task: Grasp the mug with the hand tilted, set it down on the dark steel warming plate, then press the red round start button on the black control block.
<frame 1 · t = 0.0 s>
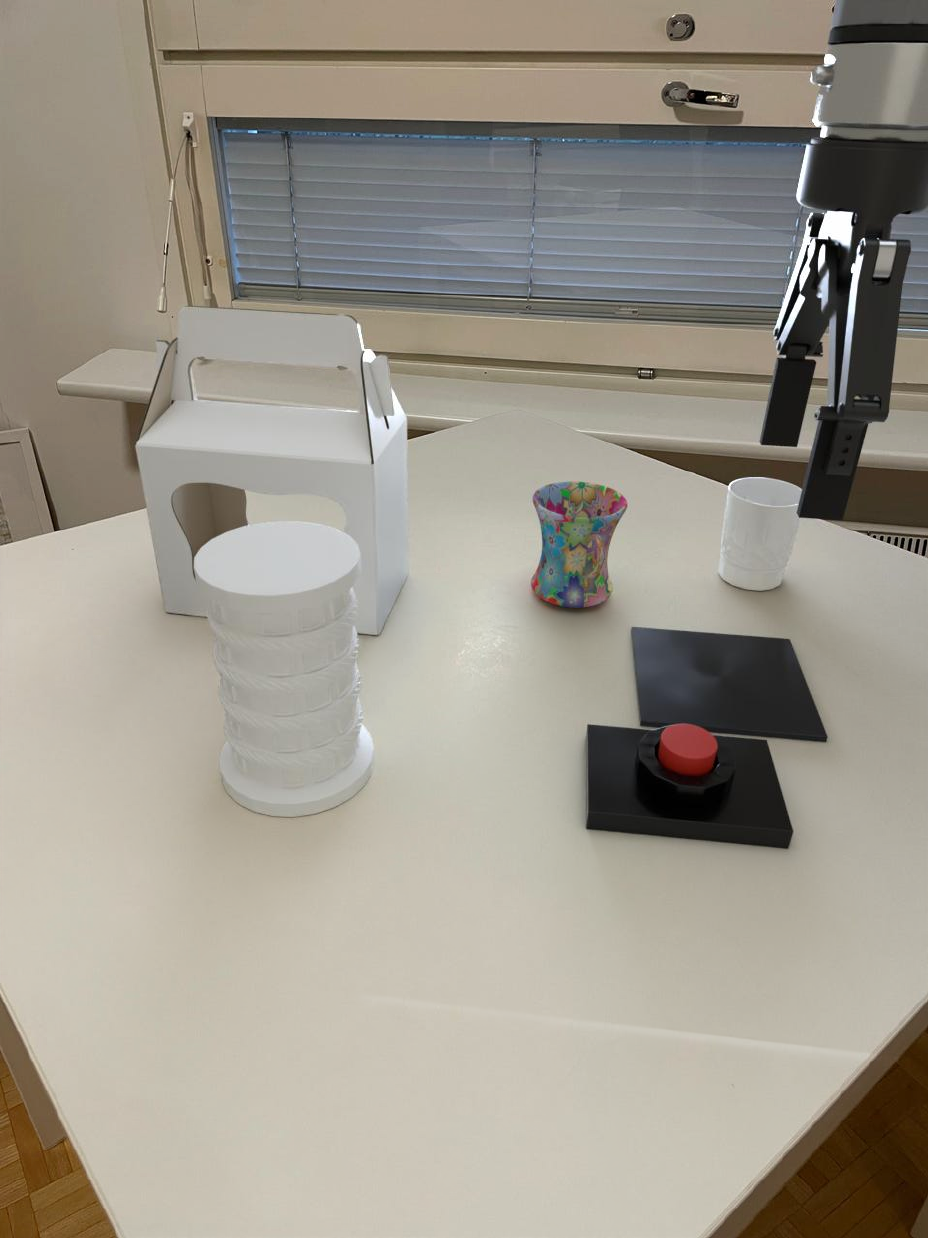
hand: (796, 477, 62), 22 cm above the table, tool pointing down, fingers open, 13 cm apart
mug: (574, 601, 90), on the table
warming plate: (719, 682, 78), on the table
start button: (687, 750, 63), point 4 cm above the table, slide at 0.1 cm
white cup: (749, 578, 95), on the table
gable box: (292, 594, 90), on the table
control block: (679, 790, 65), on the table
decorative container: (298, 766, 67), on the table
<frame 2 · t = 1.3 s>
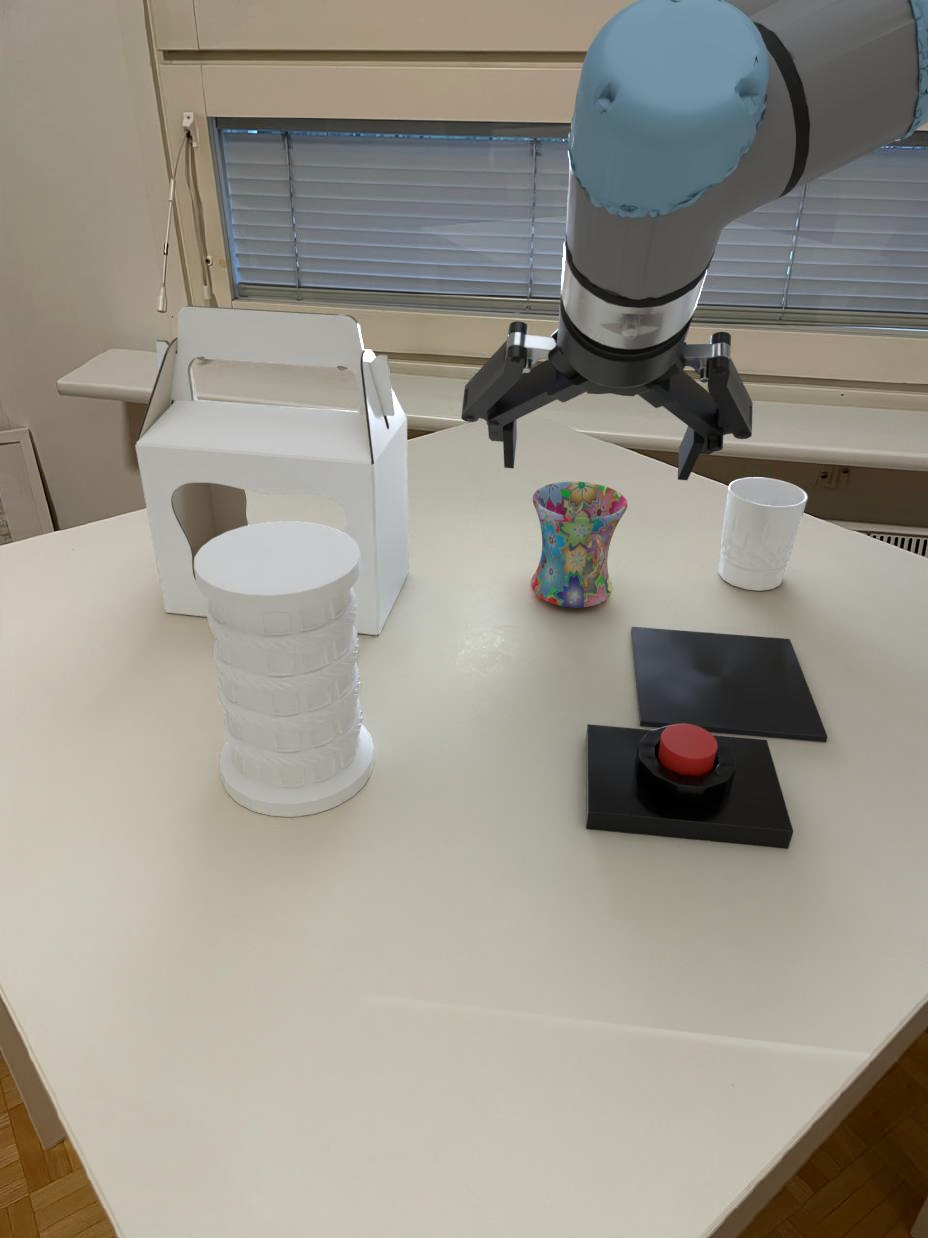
hand: (596, 458, 69), 20 cm above the table, tool tilted 45°, fingers open, 13 cm apart
nothing on the table moved.
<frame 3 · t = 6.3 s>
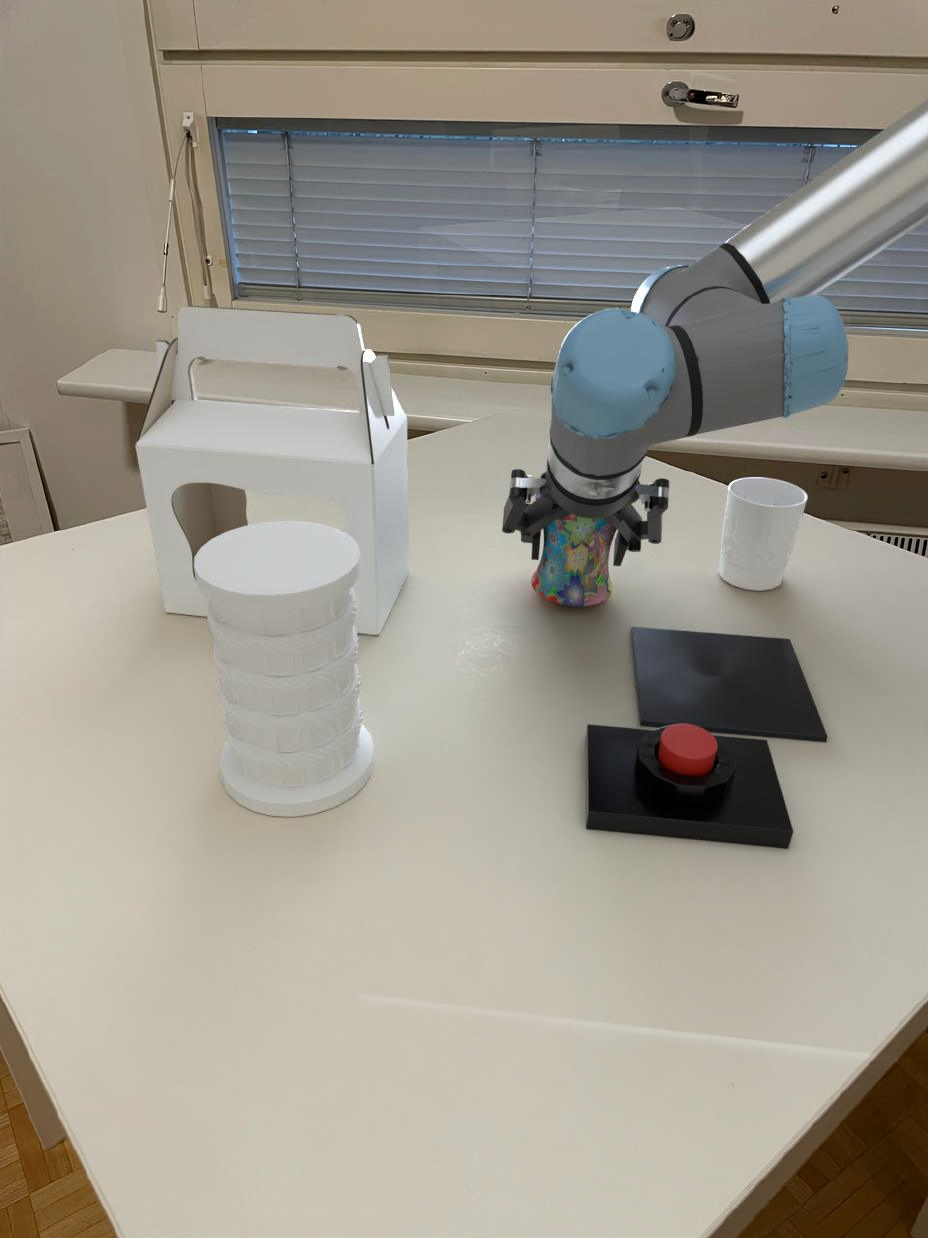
hand: (576, 550, 91), 4 cm above the table, tool tilted 45°, fingers closed on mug, 8 cm apart
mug: (574, 600, 90), on the table, touching gripper
everything else where it was.
when the fingers open (4 cm above the table, at t = 14.0 s): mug stays where it is, resting on warming plate.
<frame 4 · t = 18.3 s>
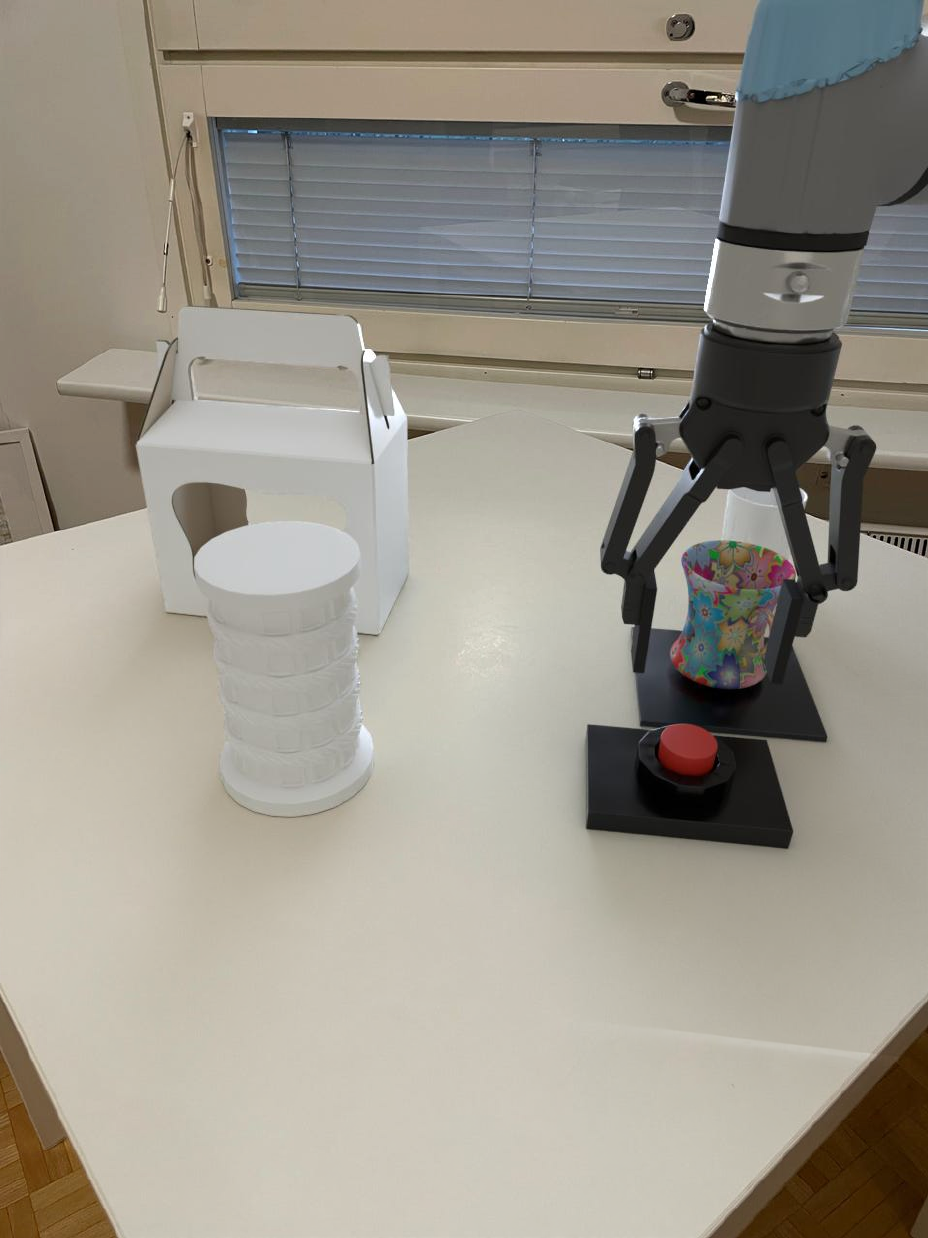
hand: (704, 667, 60), 11 cm above the table, tool pointing down, fingers open, 8 cm apart
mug: (722, 679, 77), resting on warming plate
everything else where it was.
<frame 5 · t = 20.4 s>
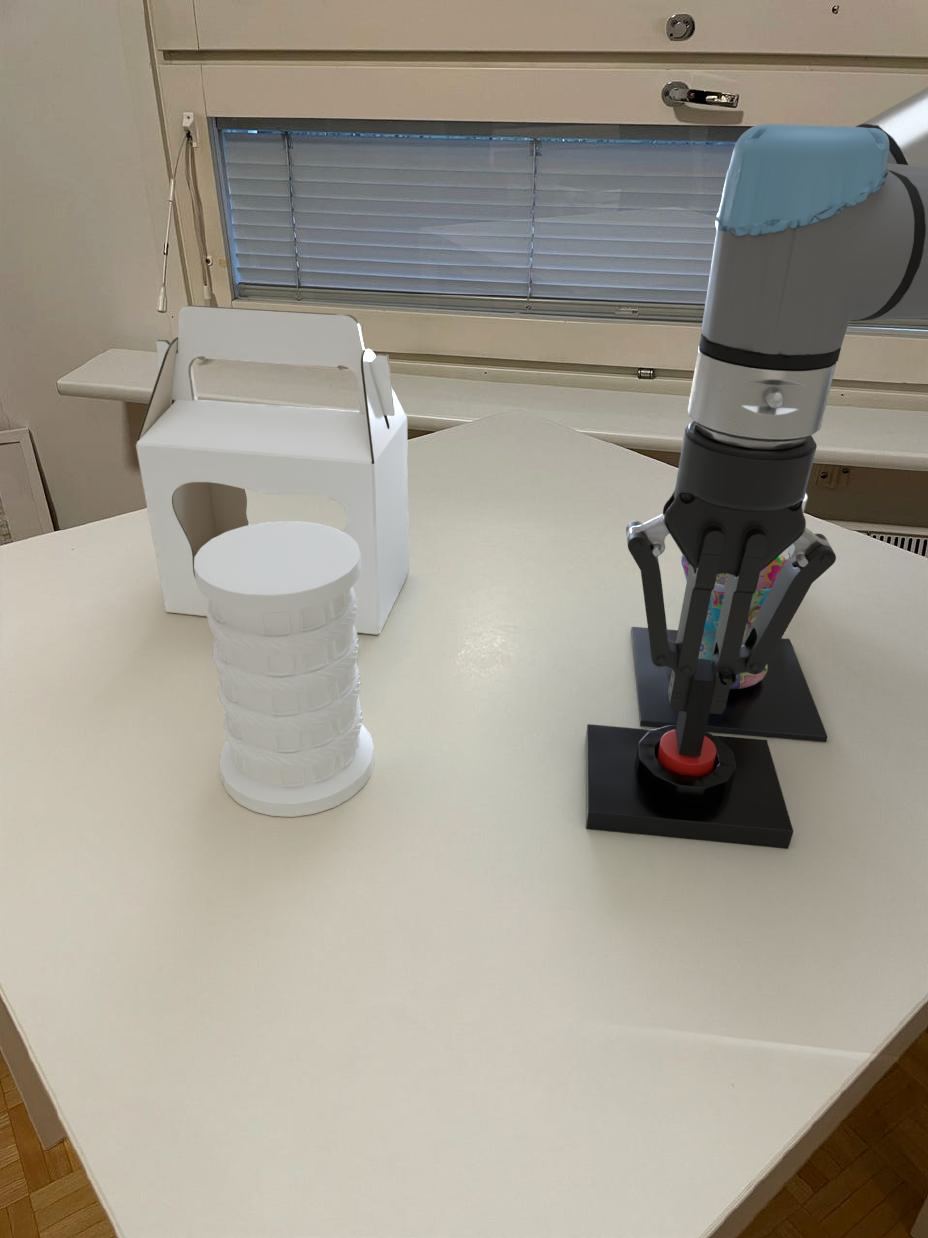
hand: (687, 743, 63), 5 cm above the table, tool pointing down, fingers closed
start button: (686, 755, 64), point 3 cm above the table, slide at -0.5 cm, touching gripper
everything else where it was.
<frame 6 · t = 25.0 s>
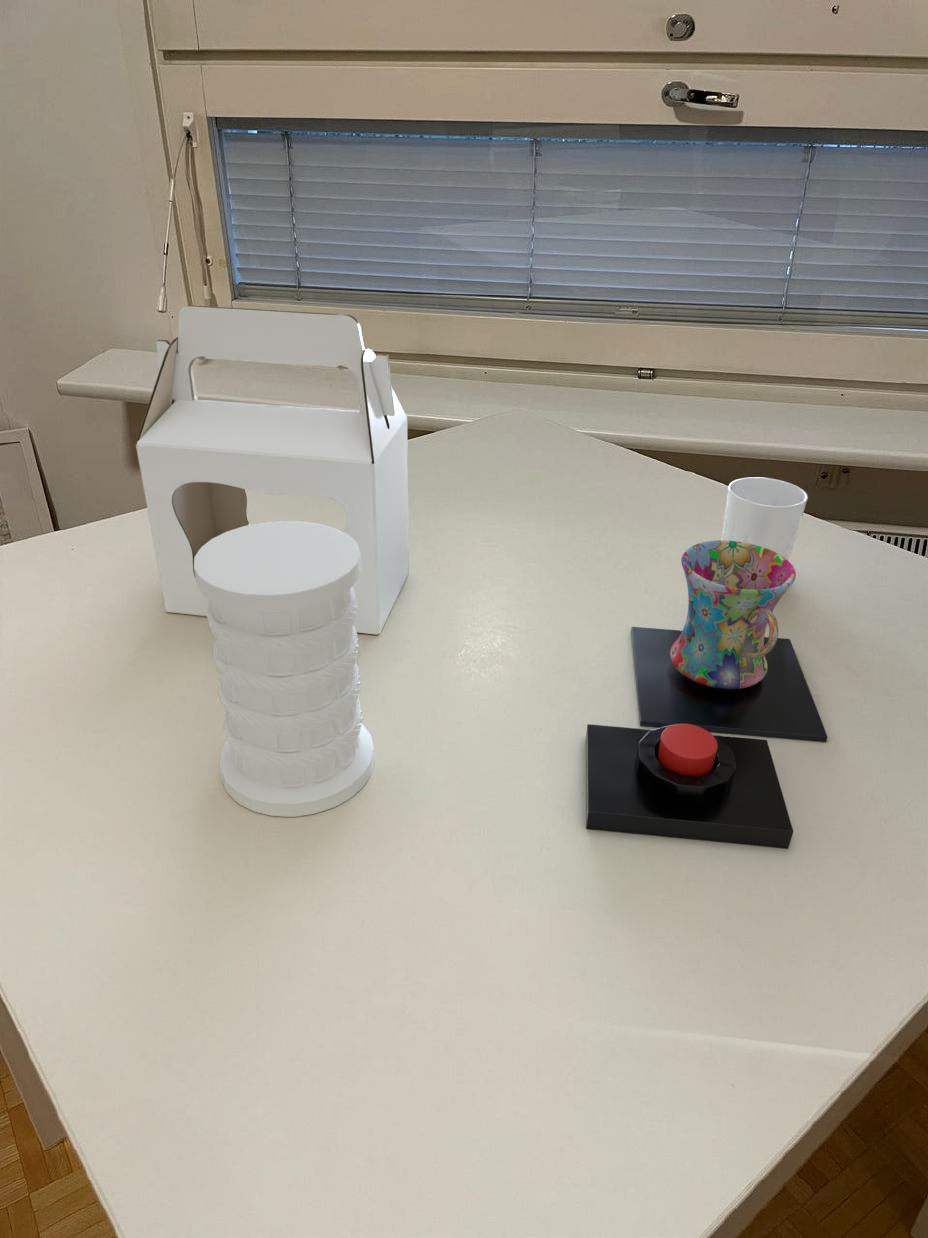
start button: (687, 750, 63), point 4 cm above the table, slide at 0.1 cm
everything else where it was.
at the end: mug inside the target area on the warming plate (0.2 cm from its centre), point 0.4 cm above the warming plate's base; start button pushed in 1.0 cm at the most during the clip, back to where it started at the end; start button slide at 0.1 cm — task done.
